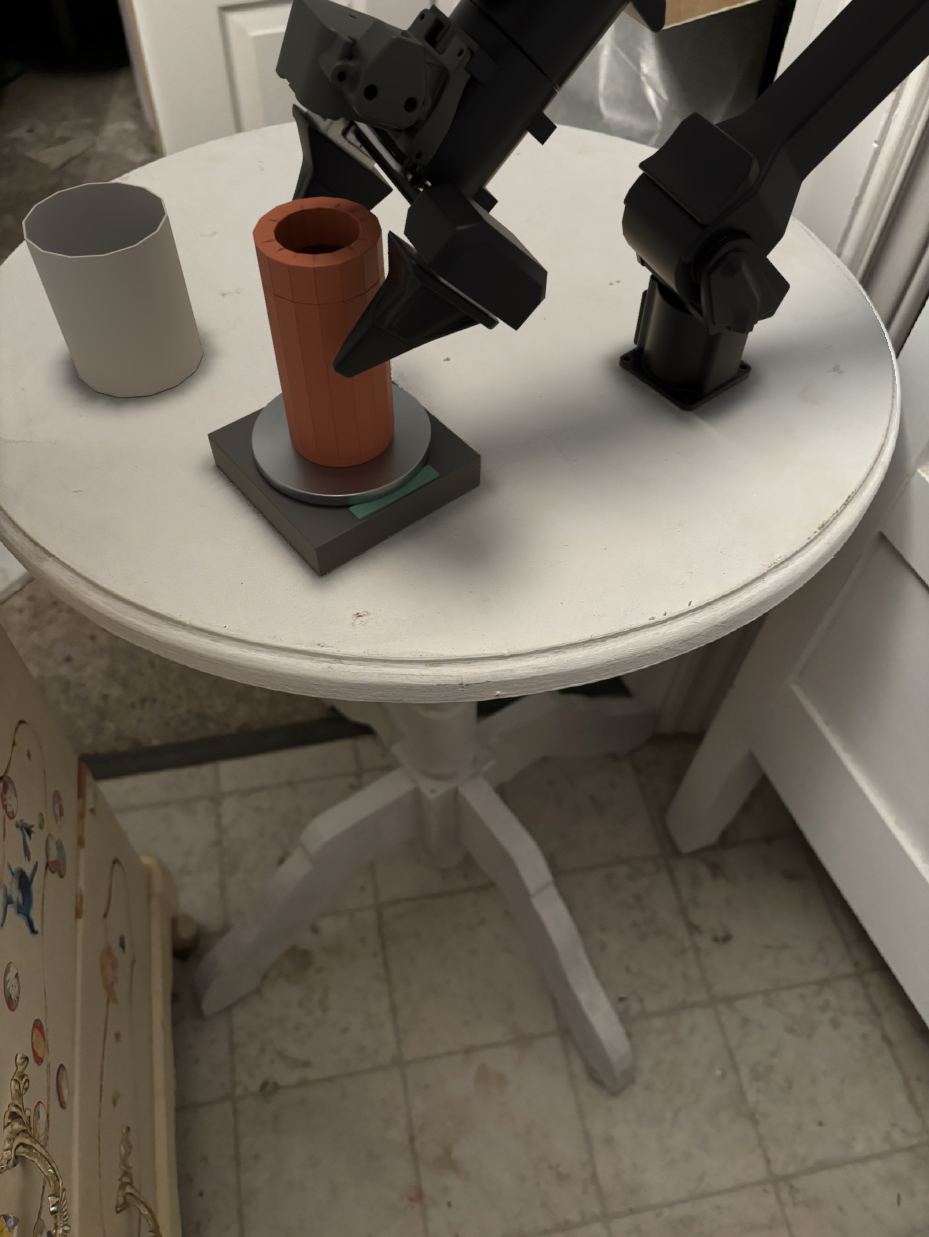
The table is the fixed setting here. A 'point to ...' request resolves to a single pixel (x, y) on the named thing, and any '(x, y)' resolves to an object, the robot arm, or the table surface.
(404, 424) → the scale pan
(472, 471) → the scale
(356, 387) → the jar
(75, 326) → the cup
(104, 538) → the table surface
